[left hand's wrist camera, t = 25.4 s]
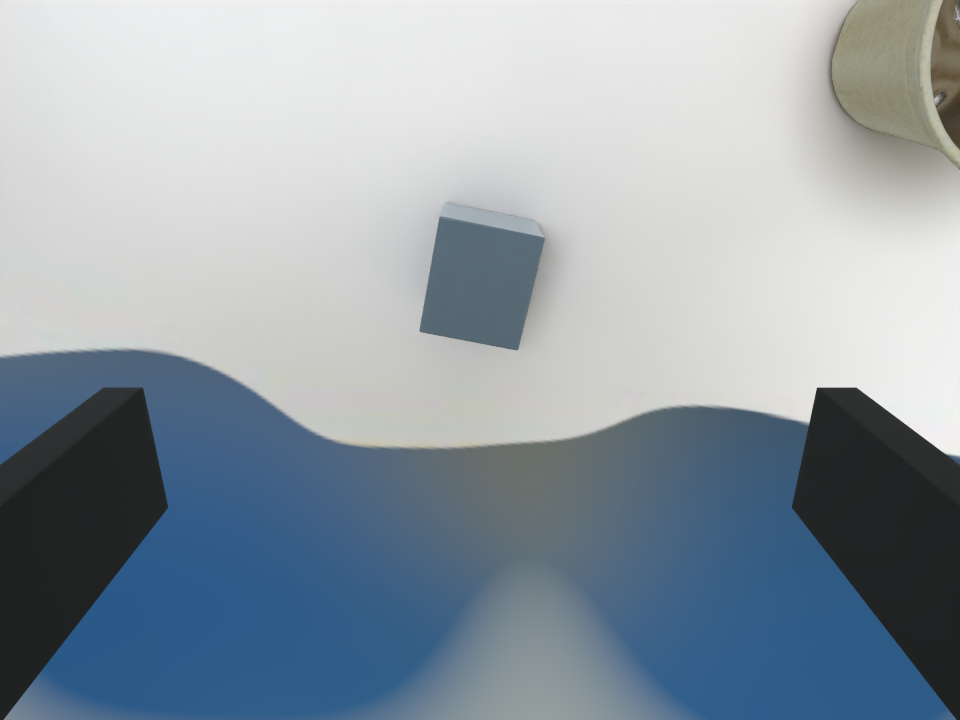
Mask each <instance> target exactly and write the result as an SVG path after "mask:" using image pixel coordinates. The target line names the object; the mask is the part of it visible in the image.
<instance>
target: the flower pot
mask: <svg viewBox="0 0 960 720" xmlns="http://www.w3.org/2000/svg"><path fill="white" fill-rule="evenodd" d="M958 2H960V0H859V1H858V2H857V3H856V4H855V5H854V7H853V8H852V9H851V11H850V12H849V14H848V15H847V17H846V19H845V22H844V25H843V27H842V30H841V33H840V36H839V39H838V42H837V45H836V48H835V52H834V55H833V59H832V80H833V86H834V90H835V93H836V96H837V98H838V100H839V102H840V103H841V105H842V107H843V108H844V110H845V111H846V112H847V113H848V114H849V115H850V116H851V117H852V118H853V119H854V120H855V121H856V122H858V123H859V124H861V125H863V126H865V127H867V128H869V129H872V130H874V131H877V132H880V133H886V134H890V135H893V136H897V137H900V138H903V139H907V140H910V141H913V142H916V143H919V144H923V145H926V146H929V147H932V148H935V149H938V150H940V151H941V152H942V153H943V154H944V155H945V156H946V157H947V158H948V159H949V160H950V161H951V162H952V163H953V164H954V165H955V166H957V167H958V168H959V169H960V22H959V20H956V19H955V18H957V16H956V14H957V13H956V12H955V6H956V4H957V3H958ZM941 92H943V93H944V94H945V96H944V98H943V99H942V100H941V101H940V103H939V104H938V105H937V106H936V105H935V102H934V98H935V97H936V96H938V95H939V94H940V93H941Z"/></svg>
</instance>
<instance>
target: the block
mask: <svg viewBox="0 0 960 720" xmlns="http://www.w3.org/2000/svg"><path fill="white" fill-rule="evenodd" d="M544 240H545V238H544V235H543V233H542V231H541V229H540V227H539V225H538V223H537V221H535V220H530V219H525V218H520V217H516V216H511V215H506V214H501V213H496V212H491V211H486V210H482V209H477V208H472V207H467V206H462V205H457V204H452V203H447V202H445V204H444V206H443V209H442V212H441V215H440V217H439V223H438V228H437V234H436V240H435V245H434V251H433V257H432V262H431V268H430V274H429V279H428V285H427V291H426V296H425V302H424V307H423V313H422V319H421V324H420V330H419V331H420V332H423V333H429V334H434V335H439V336H444V337H450V338H455V339H460V340H465V341H471V342H476V343H481V344H486V345H492V346H497V347H502V348H507V349H513V350H518V348H519V344H520V340H521V336H522V332H523V328H524V323H525V319H526V315H527V311H528V307H529V303H530V298H531V294H532V290H533V286H534V282H535V278H536V273H537V269H538V265H539V261H540V257H541V253H542V248H543V244H544Z"/></svg>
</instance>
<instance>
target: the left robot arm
mask: <svg viewBox="0 0 960 720" xmlns="http://www.w3.org/2000/svg"><path fill="white" fill-rule="evenodd" d="M167 508H168V504H167V500H166V495H165V490H164V485H163V481H162V476H161V471H160V466H159V462H158V457H157V452H156V447H155V443H154V438H153V433H152V429H151V424H150V419H149V414H148V409H147V405H146V400H145V396H144V390H143V388H103V389H101V390H100V391H99V392H97V393H96V394H95V395H93V396H92V397H91V398H89V399H88V400H86V401H85V402H84V403H82V404H81V405H80V406H79V407H77V408H76V409H74V410H73V411H72V412H71V413H69V414H68V415H66V416H65V417H64V418H63V419H61V420H60V421H59V422H57V423H56V424H55V425H53V426H52V427H50V428H49V429H48V430H46V431H45V432H44V433H42V434H41V435H40V436H38V437H37V438H36V439H35V440H33V441H32V442H30V443H29V444H28V445H27V446H25V447H24V448H22V449H21V450H20V451H19V452H17V453H16V454H15V455H13V456H12V457H10V458H9V459H8V460H6V461H5V462H4V463H2V464H1V465H0V720H4V718H5V717H6V716H7V714H8V713H9V712H10V711H11V709H12V708H13V707H14V705H15V704H16V703H17V702H18V700H19V699H20V698H21V696H22V695H23V694H24V692H25V691H26V690H27V689H28V687H29V686H30V685H31V684H32V682H33V681H34V680H35V678H36V677H37V676H38V674H39V673H40V672H41V671H42V669H43V668H44V667H45V665H46V664H47V663H48V662H49V660H50V659H51V658H52V656H53V655H54V654H55V653H56V651H57V650H58V649H59V647H60V646H61V645H62V644H63V642H64V641H65V640H66V638H67V637H68V636H69V634H70V633H71V632H72V631H73V629H74V628H75V627H76V626H77V624H78V623H79V622H80V620H81V619H82V618H83V617H84V615H85V614H86V613H87V611H88V610H89V609H90V607H91V606H92V605H93V604H94V602H95V601H96V600H97V598H98V597H99V596H100V595H101V593H102V592H103V591H104V589H105V588H106V587H107V586H108V584H109V583H110V582H111V580H112V579H113V578H114V577H115V575H116V574H117V573H118V571H119V570H120V569H121V568H122V566H123V565H124V564H125V562H126V561H127V560H128V558H129V557H130V556H131V555H132V553H133V552H134V551H135V549H136V548H137V547H138V546H139V544H140V543H141V542H142V540H143V539H144V538H145V537H146V535H147V534H148V533H149V531H150V530H151V529H152V528H153V526H154V525H155V524H156V522H157V521H158V520H159V519H160V517H161V516H162V515H163V513H164V512H165V511H166V510H167ZM792 508H793V510H794V511H795V512H796V513H797V515H798V516H799V517H800V519H801V520H802V521H803V522H804V524H805V525H806V526H807V528H808V529H809V530H810V531H811V533H812V534H813V535H814V537H815V538H816V539H817V540H818V542H819V543H820V544H821V546H822V547H823V548H824V550H825V551H826V552H827V553H828V555H829V556H830V557H831V558H832V560H833V561H834V562H835V564H836V565H837V566H838V568H839V569H840V570H841V571H842V573H843V574H844V575H845V577H846V578H847V579H848V580H849V582H850V583H851V584H852V586H853V587H854V588H855V589H856V591H857V592H858V593H859V595H860V596H861V597H862V598H863V600H864V601H865V602H866V604H867V605H868V606H869V607H870V609H871V610H872V611H873V613H874V614H875V615H876V617H877V618H878V619H879V620H880V622H881V623H882V624H883V625H884V627H885V628H886V629H887V631H888V632H889V633H890V635H891V636H892V637H893V638H894V640H895V641H896V642H897V644H898V645H899V646H900V647H901V649H902V650H903V651H904V653H905V654H906V655H907V656H908V658H909V659H910V660H911V662H912V663H913V664H914V665H915V667H916V668H917V669H918V671H919V672H920V673H921V674H922V676H923V677H924V678H925V680H926V681H927V682H928V684H929V685H930V686H931V687H932V689H933V690H934V691H935V692H936V694H937V695H938V696H939V698H940V699H941V700H942V702H943V703H944V704H945V705H946V707H947V708H948V709H949V711H950V712H951V713H952V714H953V716H954V717H955V718H956V720H960V465H959V464H958V463H956V462H955V461H954V460H952V459H951V458H950V457H948V456H947V455H946V454H944V453H943V452H942V451H940V450H939V449H938V448H936V447H935V446H934V445H932V444H931V443H930V442H928V441H927V440H926V439H924V438H923V437H922V436H920V435H919V434H918V433H916V432H915V431H914V430H912V429H911V428H910V427H908V426H907V425H906V424H904V423H903V422H902V421H900V420H899V419H898V418H896V417H895V416H894V415H892V414H891V413H890V412H888V411H887V410H886V409H884V408H883V407H882V406H880V405H879V404H878V403H876V402H875V401H874V400H872V399H871V398H869V397H868V396H867V395H865V394H864V393H863V392H861V391H860V390H859V389H857V388H817V390H816V395H815V400H814V405H813V409H812V414H811V419H810V424H809V428H808V433H807V438H806V443H805V447H804V452H803V457H802V462H801V467H800V471H799V476H798V481H797V485H796V490H795V495H794V500H793V504H792Z"/></svg>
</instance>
